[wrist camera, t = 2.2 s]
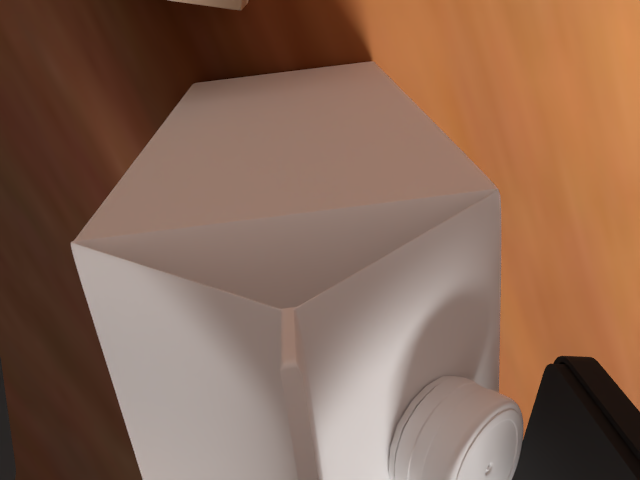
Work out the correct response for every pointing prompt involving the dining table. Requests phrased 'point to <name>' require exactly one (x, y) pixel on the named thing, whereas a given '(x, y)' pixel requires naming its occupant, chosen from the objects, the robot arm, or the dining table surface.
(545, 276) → the dining table surface
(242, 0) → the birch block
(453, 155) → the milk carton
